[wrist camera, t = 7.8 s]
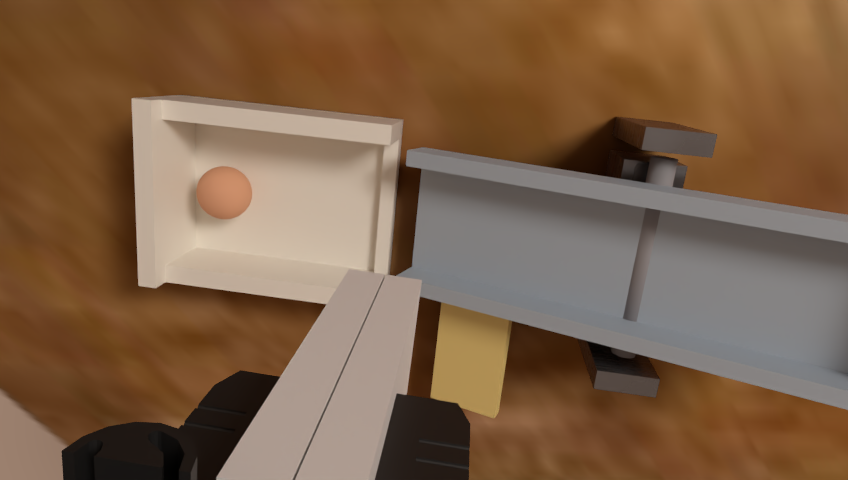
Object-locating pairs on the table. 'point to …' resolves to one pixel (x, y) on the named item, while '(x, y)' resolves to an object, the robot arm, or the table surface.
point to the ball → (224, 192)
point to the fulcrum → (632, 166)
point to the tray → (263, 195)
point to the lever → (626, 275)
